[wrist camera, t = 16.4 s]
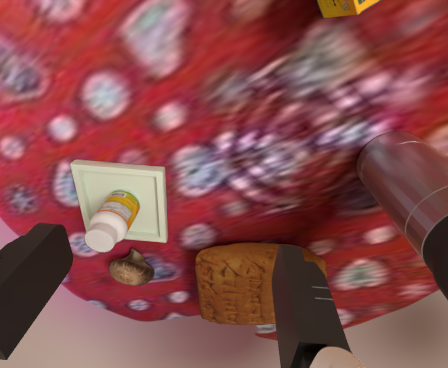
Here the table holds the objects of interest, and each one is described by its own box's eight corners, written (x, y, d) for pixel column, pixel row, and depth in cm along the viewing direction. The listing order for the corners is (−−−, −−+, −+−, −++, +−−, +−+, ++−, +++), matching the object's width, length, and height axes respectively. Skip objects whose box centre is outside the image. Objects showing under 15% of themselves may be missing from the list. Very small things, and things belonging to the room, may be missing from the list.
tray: (165, 166, 43) (162, 171, 41) (168, 236, 50) (166, 242, 48) (75, 159, 43) (70, 163, 41) (91, 229, 50) (86, 235, 48)
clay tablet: (200, 292, 57) (195, 329, 50) (199, 226, 48) (192, 260, 41) (309, 299, 56) (318, 337, 49) (326, 233, 47) (341, 268, 40)
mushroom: (127, 244, 47) (117, 282, 44) (167, 254, 51) (159, 289, 49) (109, 245, 52) (98, 279, 50) (145, 254, 57) (137, 286, 55)
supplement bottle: (127, 220, 48) (103, 261, 39) (102, 200, 46) (71, 239, 37) (147, 204, 46) (127, 244, 37) (122, 182, 44) (94, 219, 35)
